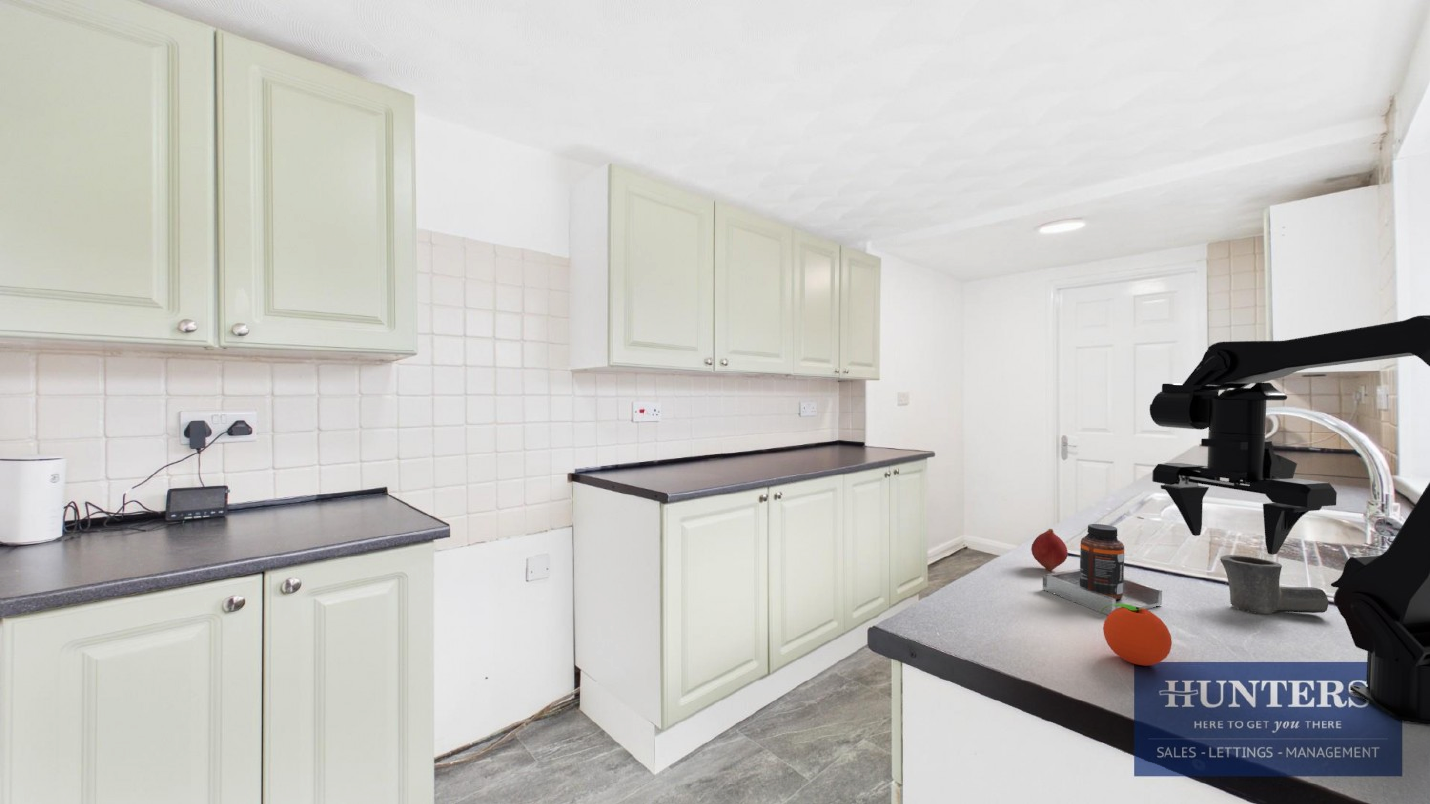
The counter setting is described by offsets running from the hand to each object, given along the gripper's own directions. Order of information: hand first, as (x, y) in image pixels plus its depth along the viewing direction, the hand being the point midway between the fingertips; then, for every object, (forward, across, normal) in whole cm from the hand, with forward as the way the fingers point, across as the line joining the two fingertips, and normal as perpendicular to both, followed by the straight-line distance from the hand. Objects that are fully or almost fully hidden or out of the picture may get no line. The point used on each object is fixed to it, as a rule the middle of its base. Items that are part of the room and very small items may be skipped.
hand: (1232, 544), depth 77 cm
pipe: (+13, +5, -16) cm, 21 cm away
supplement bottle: (+13, +15, +5) cm, 20 cm away
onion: (+13, +29, +2) cm, 32 cm away
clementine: (+13, -2, +20) cm, 24 cm away
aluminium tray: (+13, +16, +5) cm, 21 cm away
